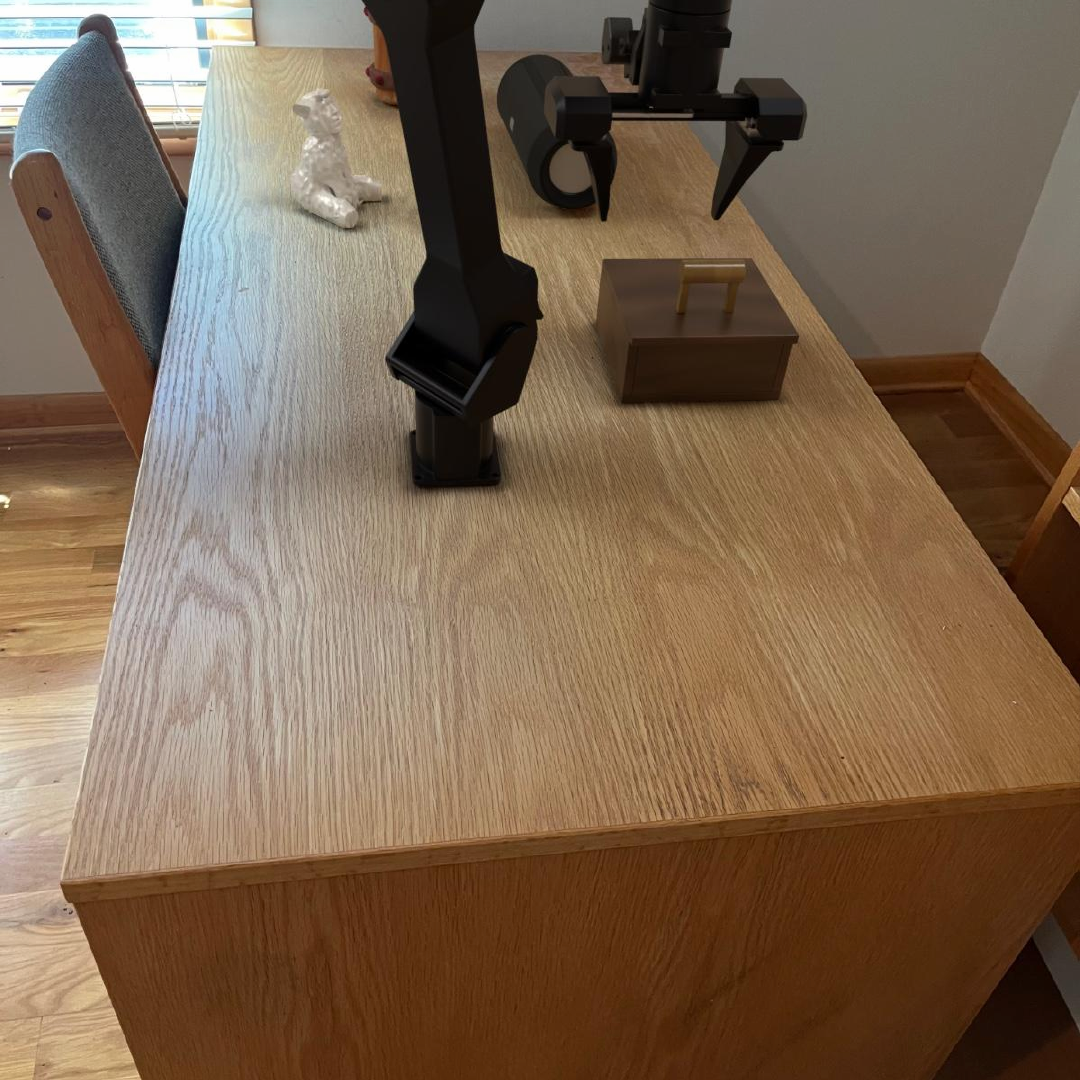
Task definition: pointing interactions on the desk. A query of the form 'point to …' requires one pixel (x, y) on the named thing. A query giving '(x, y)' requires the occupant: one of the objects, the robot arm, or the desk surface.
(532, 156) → the portable speaker
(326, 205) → the white creature statuette
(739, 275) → the lid
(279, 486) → the desk surface
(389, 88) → the mug
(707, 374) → the keepsake box
